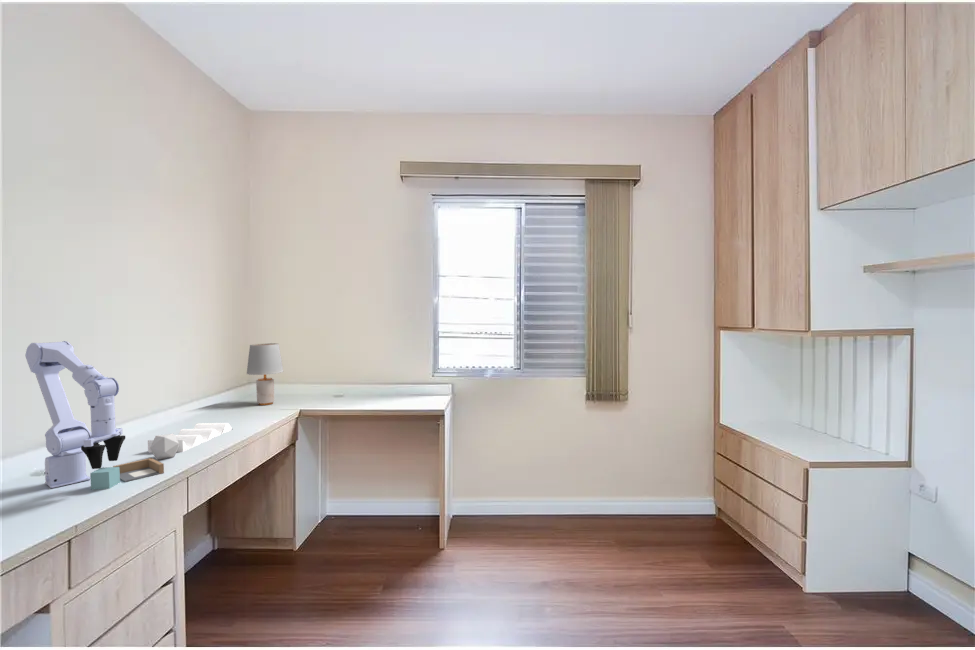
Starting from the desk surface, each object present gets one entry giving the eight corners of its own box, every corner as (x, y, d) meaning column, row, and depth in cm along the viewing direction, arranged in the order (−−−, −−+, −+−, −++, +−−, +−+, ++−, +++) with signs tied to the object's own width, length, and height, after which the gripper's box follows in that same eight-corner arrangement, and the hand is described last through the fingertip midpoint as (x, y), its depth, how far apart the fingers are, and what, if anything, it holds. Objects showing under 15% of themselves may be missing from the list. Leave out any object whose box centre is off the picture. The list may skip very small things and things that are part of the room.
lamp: (290, 401, 284) (289, 343, 283) (271, 407, 266) (269, 345, 265) (261, 400, 288) (259, 343, 287) (240, 406, 269) (238, 345, 268)
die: (181, 454, 181) (163, 433, 180) (188, 445, 176) (170, 424, 175) (158, 468, 174) (140, 447, 173) (166, 460, 169) (147, 438, 168)
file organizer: (233, 430, 217) (232, 419, 216) (183, 453, 182) (182, 439, 181) (203, 431, 217) (203, 419, 217) (148, 454, 182) (147, 440, 182)
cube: (109, 488, 144) (108, 472, 144) (91, 489, 143) (90, 473, 143) (120, 482, 149) (119, 466, 149) (102, 484, 148) (101, 467, 148)
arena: (124, 482, 149) (124, 472, 149) (113, 475, 156) (113, 466, 156) (163, 472, 157) (163, 463, 157) (151, 466, 164) (151, 457, 164)
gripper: (101, 424, 139) (103, 471, 139) (132, 413, 153) (133, 456, 154) (74, 425, 138) (76, 472, 138) (107, 414, 152) (109, 457, 153)
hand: (105, 464), depth 146 cm, fingers open, 7 cm apart
